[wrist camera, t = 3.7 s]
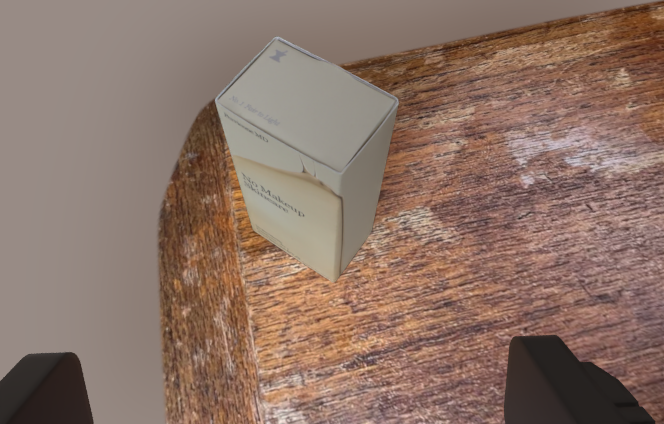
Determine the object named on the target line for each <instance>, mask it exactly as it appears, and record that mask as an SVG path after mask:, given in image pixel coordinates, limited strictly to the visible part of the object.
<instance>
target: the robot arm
mask: <svg viewBox="0 0 664 424" xmlns="http://www.w3.org/2000/svg"><path fill="white" fill-rule="evenodd" d="M504 417H505V424H655V420H654V419H653V418H652V417H651V416H650V415H649V414H648V412H647V411H646V410H645V409H644V408H643V407H639V405H638V401H637V400H636V399H635V398H634V397H633V396H632V394H631V393H630V392H629V391H628V390H627V389H626V388H625V387H624V385H623V384H622V383H621V382H620V381H619V380H618V379H616V378H615V377H613V376H612V375H610V374H609V373H607V372H605V371H604V370H602V369H601V368H599V367H598V366H596V365H595V364H593V363H591V362H579V360H578V359H577V358H576V357H575V356H574V354H573V353H572V352H571V351H570V349H569V348H568V347H567V346H566V344H565V343H564V342H563V341H562V340H561V339H560V338H559V337H558V336H557V335H540V336H515V337H513V338H512V340H511V342H510V347H509V356H508V367H507V378H506V390H505V401H504ZM0 424H93V417H92V412H91V408H90V404H89V399H88V395H87V390H86V386H85V381H84V377H83V372H82V368H81V364H80V361H79V358H78V357H77V355H76V354H75V353H72V352H65V353H41V354H28V355H26V356H25V357H23V358H22V359H21V360H20V361H19V362H18V363H17V364H16V365H15V366H14V368H13V369H12V370H11V371H10V372H9V373H8V374H7V375H6V376H5V377H4V378H3V379H2V380H1V381H0Z"/></svg>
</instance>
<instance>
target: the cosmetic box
mask: <svg viewBox="0 0 664 424" xmlns="http://www.w3.org/2000/svg"><path fill="white" fill-rule="evenodd" d="M215 103H216V106H217V110H218V113H219V117H220V119H221V123H222V126H223V130H224V133H225V137H226V140H227V143H228V146H229V150H230V154H231V157H232V160H233V164H234V167H235V170H236V174H237V178H238V181H239V184H240V188H241V191H242V194H243V198H244V201H245V205H246V208H247V211H248V215H249V218H250V222H251V225H252V229H253V230H254V231H255V232H257V233H258V234H260V235H261V236H263V237H264V238H265V239H267V240H268V241H270V242H271V243H273V244H274V245H276V246H277V247H279V248H280V249H282V250H283V251H285V252H286V253H288V254H289V255H291V256H292V257H294V258H295V259H297V260H298V261H300V262H301V263H303V264H305V265H306V266H308V267H309V268H311V269H312V270H314V271H315V272H317V273H319V274H320V275H322V276H323V277H325V278H326V279H328V280H330V281H331V282H336V281H337V279H338V278H339V276H340V275H341V274H342V272H343V271H344V270H345V268H346V267H347V266H348V264H349V263H350V262H351V260H352V259H353V257H354V256H355V255H356V253H357V252H358V250H359V249H360V248H361V246H362V245H363V243H364V242H365V240H366V239H367V238H368V236H369V235H370V233H371V232H372V228H373V223H374V218H375V213H376V208H377V204H378V199H379V194H380V189H381V184H382V180H383V175H384V170H385V166H386V161H387V156H388V151H389V146H390V142H391V137H392V132H393V128H394V123H395V118H396V114H397V109H398V105H399V100H398V98H397V97H395V96H393V95H391V94H389V93H387V92H385V91H383V90H382V89H380V88H378V87H376V86H374V85H372V84H370V83H368V82H367V81H365V80H363V79H361V78H359V77H357V76H355V75H353V74H351V73H350V72H348V71H346V70H344V69H343V68H341V67H339V66H337V65H335V64H332V63H331V62H329V61H326V60H324V59H322V58H320V57H318V56H316V55H314V54H312V53H310V52H308V51H306V50H304V49H302V48H300V47H298V46H296V45H294V44H292V43H290V42H288V41H286V40H284V39H282V38H281V37H278V36H275V37H274V39H273V40H272V41H271V42H270V43H269V44H268V45H266V46H265V48H264V49H262V50H261V51H260V53H259V54H257V55H256V56H255V58H253V59H252V60H251V61H250V63H248V64H247V66H246V67H245V68H244V69H243V70H242V71H241V72H240V73H239V74H238V75H236V77H235V78H234V79H233V80H232V81H231V82H230V83H229V84H228V85H227V86H226V87H225V88H224V89H223V90H222V92H221V93H220V94H219V95H218V96H217V97H216V98H215Z"/></svg>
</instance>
